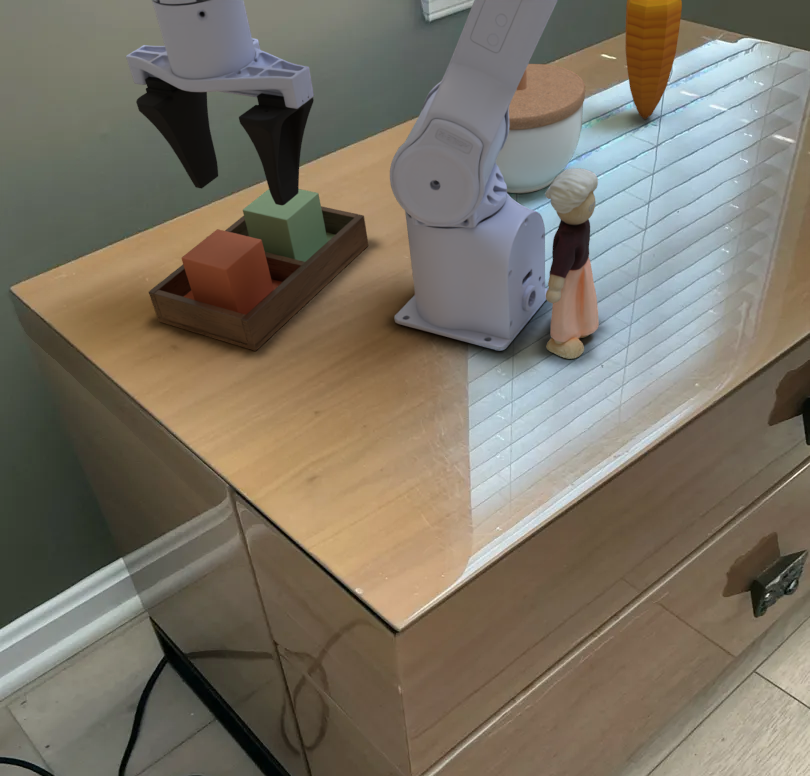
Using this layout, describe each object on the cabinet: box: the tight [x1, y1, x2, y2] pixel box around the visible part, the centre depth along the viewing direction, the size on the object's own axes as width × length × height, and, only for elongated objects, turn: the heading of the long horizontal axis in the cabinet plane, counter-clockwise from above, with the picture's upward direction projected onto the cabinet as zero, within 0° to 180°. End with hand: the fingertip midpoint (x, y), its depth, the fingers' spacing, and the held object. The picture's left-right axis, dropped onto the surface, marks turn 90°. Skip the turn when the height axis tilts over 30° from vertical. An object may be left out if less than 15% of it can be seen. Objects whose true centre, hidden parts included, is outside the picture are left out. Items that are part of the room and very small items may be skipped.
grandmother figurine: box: [544, 167, 600, 360], centre depth 65 cm, size 8×4×13 cm, turn 168°
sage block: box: [242, 188, 328, 262], centre depth 78 cm, size 4×4×4 cm
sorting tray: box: [148, 205, 369, 351], centre depth 78 cm, size 10×16×3 cm, turn 149°
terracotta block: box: [180, 228, 274, 315], centre depth 74 cm, size 4×4×4 cm
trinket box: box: [496, 63, 586, 194], centre depth 82 cm, size 11×11×9 cm
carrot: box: [624, 0, 683, 120], centre depth 85 cm, size 5×5×15 cm
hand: (246, 190), depth 70 cm, fingers open, 7 cm apart
